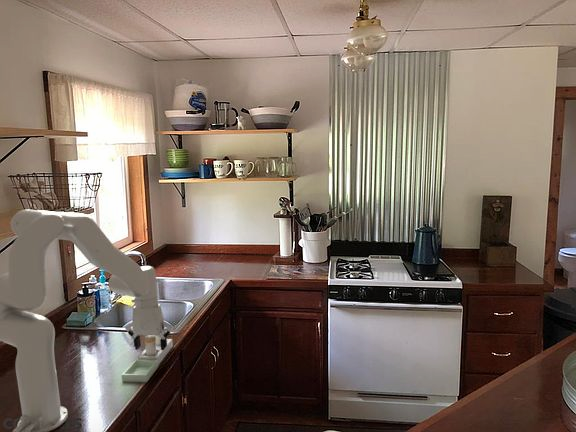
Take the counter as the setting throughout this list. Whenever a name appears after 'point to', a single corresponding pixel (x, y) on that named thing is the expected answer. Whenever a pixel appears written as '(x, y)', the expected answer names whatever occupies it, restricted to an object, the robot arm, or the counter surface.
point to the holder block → (160, 353)
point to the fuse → (158, 340)
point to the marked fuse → (150, 345)
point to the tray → (140, 371)
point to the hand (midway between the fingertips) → (150, 348)
